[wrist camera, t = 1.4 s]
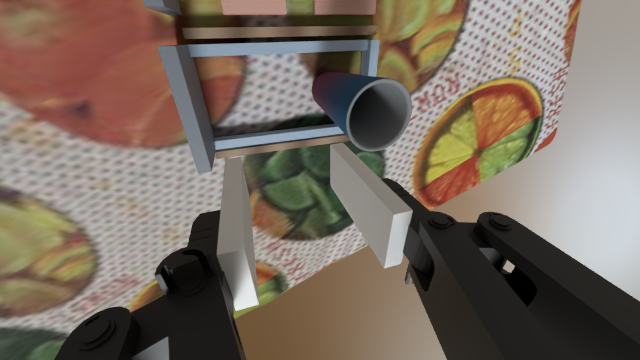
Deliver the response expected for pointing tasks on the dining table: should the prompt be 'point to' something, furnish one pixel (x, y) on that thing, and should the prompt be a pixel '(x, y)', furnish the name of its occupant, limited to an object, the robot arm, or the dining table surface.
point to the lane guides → (277, 32)
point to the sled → (184, 68)
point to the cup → (364, 107)
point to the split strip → (273, 7)
